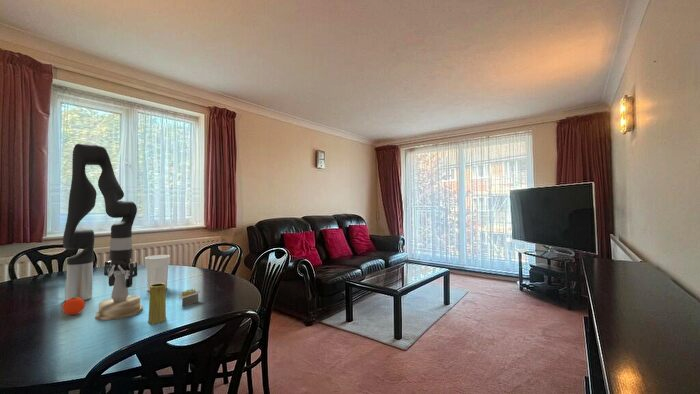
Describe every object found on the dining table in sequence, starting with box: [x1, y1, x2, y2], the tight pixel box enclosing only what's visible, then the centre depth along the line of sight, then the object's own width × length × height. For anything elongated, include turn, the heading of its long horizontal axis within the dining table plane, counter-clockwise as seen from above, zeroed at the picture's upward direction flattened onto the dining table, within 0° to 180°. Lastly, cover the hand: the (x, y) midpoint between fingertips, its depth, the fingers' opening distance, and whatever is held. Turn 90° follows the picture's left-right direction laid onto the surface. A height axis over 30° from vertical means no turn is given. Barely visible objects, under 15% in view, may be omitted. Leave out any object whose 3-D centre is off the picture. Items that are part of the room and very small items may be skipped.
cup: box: [144, 254, 171, 293], centre depth 159 cm, size 11×11×17 cm
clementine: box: [62, 297, 86, 316], centre depth 125 cm, size 8×7×7 cm
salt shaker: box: [110, 271, 130, 302], centre depth 127 cm, size 6×6×13 cm
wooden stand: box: [94, 294, 144, 321], centre depth 127 cm, size 16×16×5 cm
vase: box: [147, 283, 167, 325], centre depth 119 cm, size 6×6×14 cm
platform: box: [178, 288, 202, 307], centre depth 139 cm, size 12×18×7 cm, turn 154°
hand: (120, 286), depth 127 cm, fingers open, 8 cm apart
